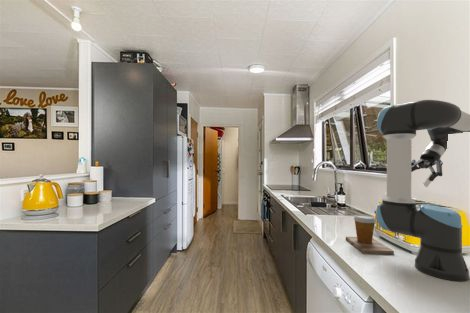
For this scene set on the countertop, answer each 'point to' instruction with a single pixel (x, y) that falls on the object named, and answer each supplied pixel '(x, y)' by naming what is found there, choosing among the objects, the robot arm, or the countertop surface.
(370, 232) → the disposable coffee cup
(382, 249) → the walnut board
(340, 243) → the countertop surface
